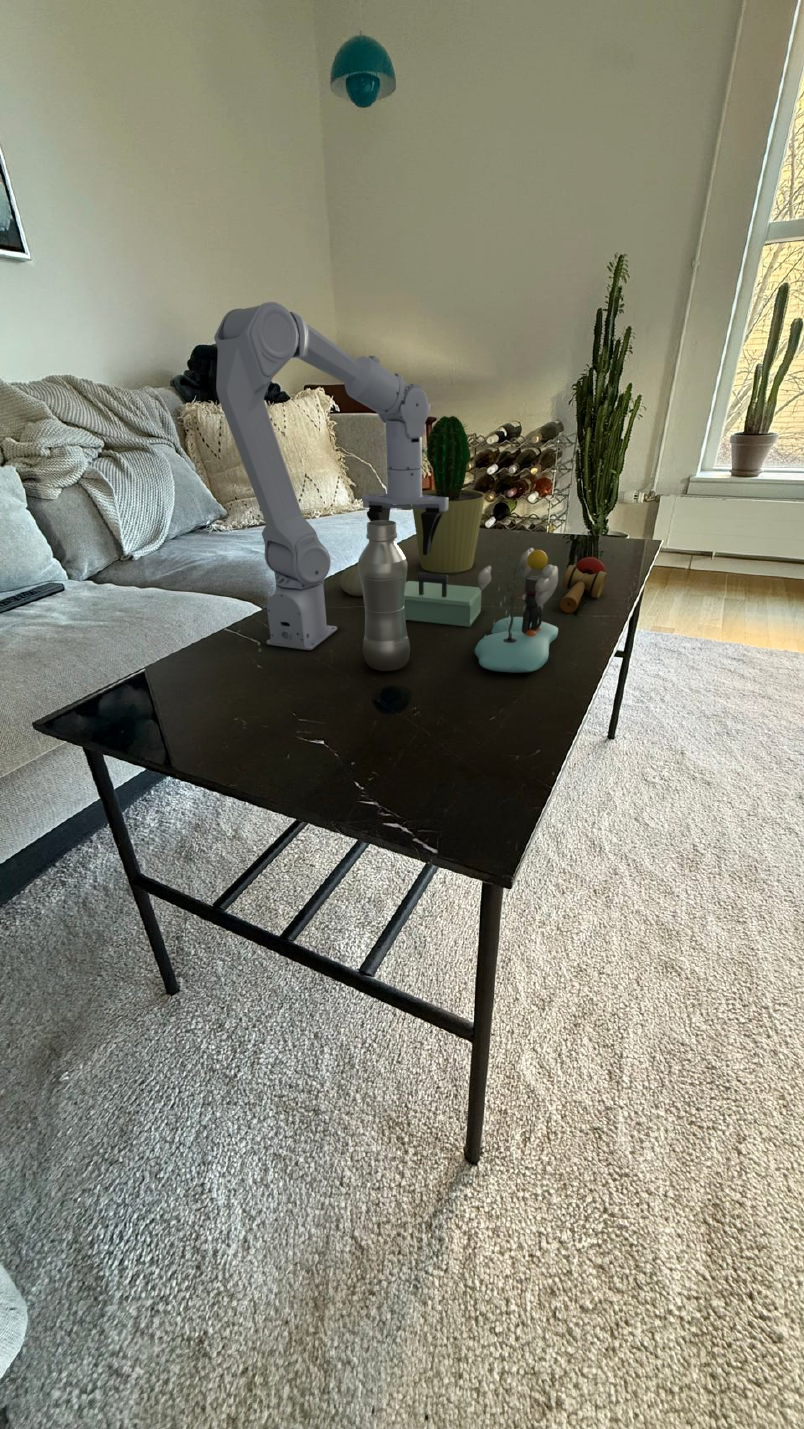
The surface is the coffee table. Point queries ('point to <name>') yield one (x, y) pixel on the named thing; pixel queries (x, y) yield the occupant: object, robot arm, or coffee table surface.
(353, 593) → the sea urchin shell
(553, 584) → the figurine on blue base
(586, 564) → the kendama
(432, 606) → the teal open box
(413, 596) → the lid
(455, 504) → the potted cactus
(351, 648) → the coffee table surface
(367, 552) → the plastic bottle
